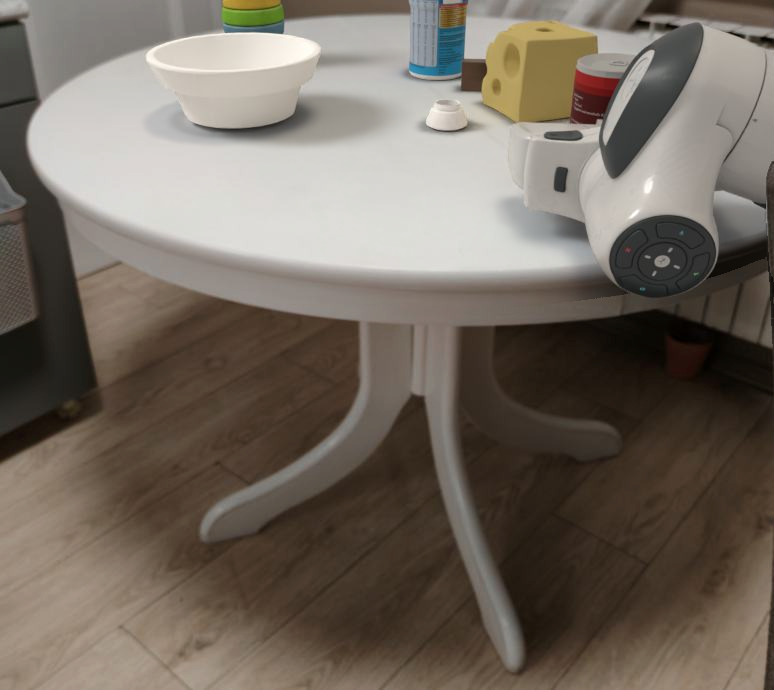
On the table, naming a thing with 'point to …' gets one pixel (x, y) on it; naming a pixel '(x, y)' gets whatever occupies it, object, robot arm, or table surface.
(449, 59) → the beverage bottle
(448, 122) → the lidless jar
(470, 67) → the back rail
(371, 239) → the table surface
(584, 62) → the canned food
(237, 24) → the stacking bear
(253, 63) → the bowl
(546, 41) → the cheese
